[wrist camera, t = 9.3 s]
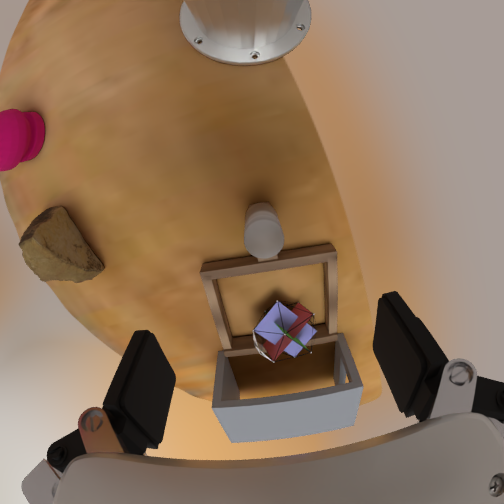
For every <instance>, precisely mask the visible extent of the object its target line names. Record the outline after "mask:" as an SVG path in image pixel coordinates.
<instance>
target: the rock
mask: <svg viewBox="0 0 504 504" xmlns="http://www.w3.org/2000/svg"><path fill="white" fill-rule="evenodd" d="M19 246H20V248H21V249H22V251H23V254H22V255H23V257H24V260H25V262H26V264H27V265H28V266H29V268H30V269H31V270H33V272H34V274H36V275H38V277H39V278H40V280H42V281H44V282H46V281H50V280H59V281H63V280H65V281H74V282H75V283H79V282H83V281H85V280H91V279H93V278H94V277H95V276H97V275H98V274H99V273H101V272H102V271H103V270H104V267H103V265H102V263H101V262H100V261H99V259H98V258H97V257H96V256H95V255H94V253H93V252H92V250H91V249H90V247H89V246H88V244H87V243H86V242H85V240H84V239H83V237H82V235H81V233H80V231H79V230H78V229H77V227H76V225H75V224H74V223H73V221H72V220H71V219H70V218H69V215H68V213H67V211H66V210H65V209H64V208H63V207H62V206H60V207H52V208H49V209H47V210H45V211H44V212H42V213H41V214H40V215H38V216H37V217H36V218H35V219H34V220H33V221H32V223H31V224H30V226H29V227H28V228H27V230H26V231H25V232H24V234H23V236H22V237H21V241H20V243H19Z"/></svg>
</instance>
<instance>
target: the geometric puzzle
mask: <svg viewBox="0 0 504 504" xmlns="http://www.w3.org/2000/svg"><path fill="white" fill-rule="evenodd" d="M283 302H286V301H283ZM281 303H282V302H281ZM281 303H280V302H279V301H278V300H277V302H276V303H274V304H275V305H274V304H273V305H274V306H273V307H272V308H271V310H268V309H269V308H268V309H267V310H268V311H269V312H268V313H267V312H266V311H264V312H265V313H267V314H266V316H265V315H264V318H263V319H262V320H261V322H260V323H259V324H258V323H257V324H258V325H257V326H256V328H254V330H253V331H255V332H256V333H258V334H259V335H261V336H262V337H263V338H265V339H267V341H266V342H265V343H264V344H263V345H261V344H260V343H258V342H257V341H256V338H255V335H254V333H255V332H253V341H254V345H255V343H256V345H257V347H258V348H259V349H258V348H257V347H256V349H257V350H258V351H259V350H260V351H261V352H260V351H259V353H260V354H261V353H262V354H263V355H262V354H261V355H262V356H264V357H265V358H267V359H269V360H271V359H272V360H273V363H274V361H275V360H276V359H277V358H278V356H279V355H280V354H281V353H282V352H283V351H285V352H287V353H288V354H290V355H291V356H292V357H294V358H295V357H296V356H297V354H298V353H299V352H300V351H301V350H302V349H303V348H305V349H306V350H308V349H307V348H306V347H305V345H306V344H307V343H308V341H309V340H310V339H311V338H312V337H313V335H314V334H315V333H317V330H316V329H317V328H316V329H314V328H315V327H314V328H312V327H311V326H310V325H308V324H307V322H308V321H309V320H310V318H311V317H312V316H313V321H314V319H315V318H314V315H315V314H313V313H311V312H310V311H309V310H308V309H306V308H305V307H304V306H302V305H301V304H300V303H299V302H297V305H296V306H295V307H294V308H293V310H292V311H290V310H289V309H287V308H286V307H285V306H284V305H282V304H281ZM283 304H285V303H283ZM294 304H296V303H294ZM286 305H287V304H286ZM290 305H292V304H290ZM290 305H287V306H290ZM291 307H293V306H291ZM262 316H263V315H262ZM259 321H260V320H259ZM310 322H311V321H310ZM311 323H312V322H311ZM315 324H316V323H315ZM312 325H313V324H312ZM313 326H314V325H313ZM256 336H257V335H256ZM315 337H316V336H315ZM258 339H259V338H258ZM260 342H261V341H260ZM313 344H314V343H313ZM256 345H255V346H256ZM263 347H264V348H265V350H266V351H267V353H268V354H269V356H270V357H271V359H270V358H268V357H267V356H266V355H265V354H264V351H263ZM312 348H313V347H312V344H311V350H312ZM308 351H309V350H308ZM309 352H310V353H312V352H311V351H309ZM284 354H285V353H284ZM288 354H286V355H288ZM307 354H308V353H307ZM290 355H289V356H290ZM303 355H305V354H303ZM299 356H301V355H299ZM292 357H291V358H292ZM297 357H298V356H297ZM287 359H288V358H287ZM289 359H290V358H289ZM272 360H271V361H272ZM283 360H284V359H283ZM285 360H286V359H285ZM279 361H281V360H279ZM275 362H276V361H275Z"/></svg>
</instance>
